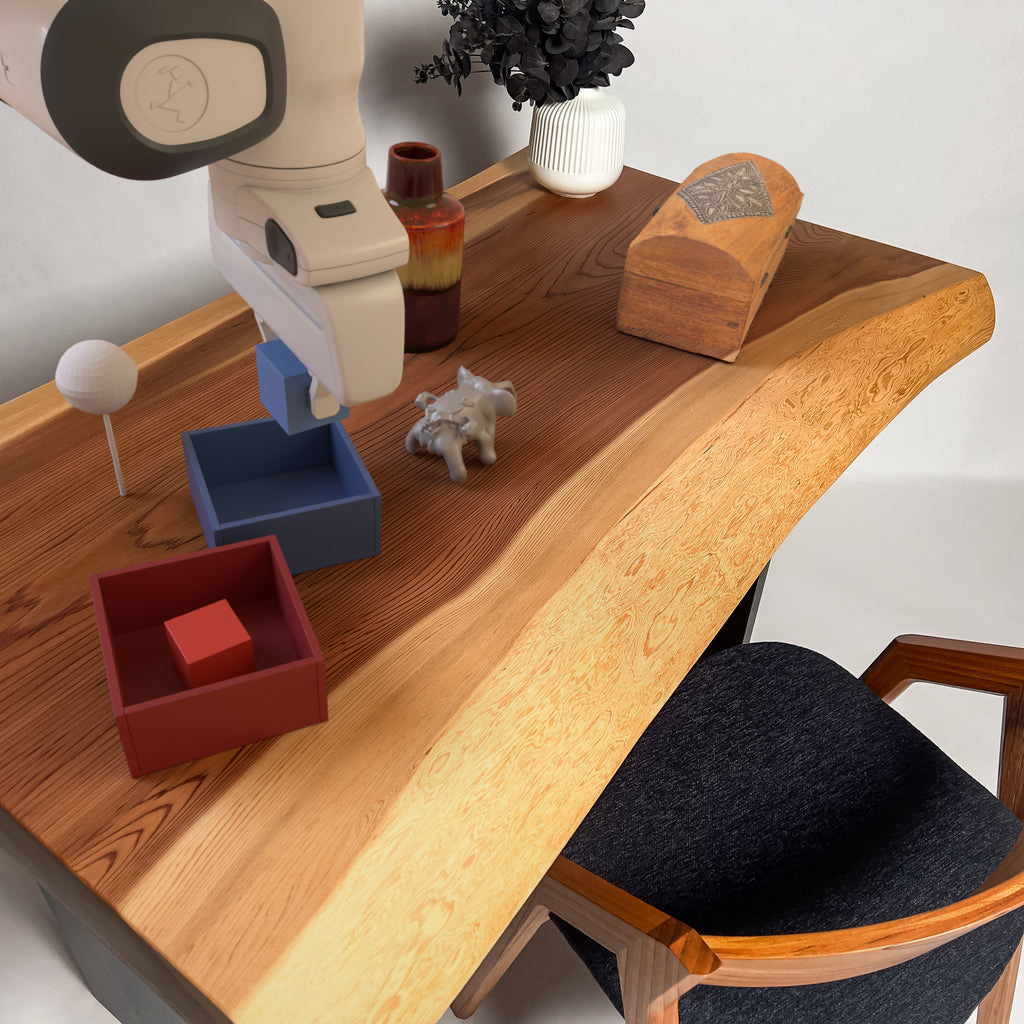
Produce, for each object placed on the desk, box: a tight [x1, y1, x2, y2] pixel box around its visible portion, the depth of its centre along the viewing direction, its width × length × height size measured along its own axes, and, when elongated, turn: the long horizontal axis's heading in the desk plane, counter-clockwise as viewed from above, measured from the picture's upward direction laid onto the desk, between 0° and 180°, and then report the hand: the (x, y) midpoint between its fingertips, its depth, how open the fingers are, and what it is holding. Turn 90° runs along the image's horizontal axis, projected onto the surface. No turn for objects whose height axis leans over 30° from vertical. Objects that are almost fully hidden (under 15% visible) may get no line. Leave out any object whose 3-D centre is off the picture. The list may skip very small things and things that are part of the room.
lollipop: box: [54, 339, 139, 497], centre depth 79 cm, size 6×6×15 cm
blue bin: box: [180, 416, 382, 576], centre depth 81 cm, size 13×13×6 cm
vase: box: [380, 141, 466, 354], centre depth 103 cm, size 11×11×20 cm
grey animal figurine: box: [405, 365, 518, 484], centre depth 91 cm, size 9×12×8 cm
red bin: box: [87, 534, 329, 779], centre depth 68 cm, size 13×13×6 cm
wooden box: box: [615, 151, 805, 354], centre depth 118 cm, size 30×16×14 cm, turn 156°
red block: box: [164, 599, 256, 690], centre depth 68 cm, size 4×4×4 cm
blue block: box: [254, 339, 351, 436], centre depth 64 cm, size 4×4×4 cm
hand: (303, 389), depth 65 cm, fingers closed on blue block, 4 cm apart
